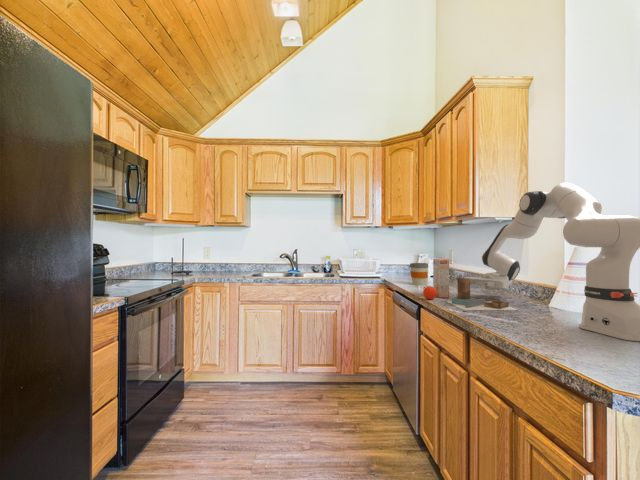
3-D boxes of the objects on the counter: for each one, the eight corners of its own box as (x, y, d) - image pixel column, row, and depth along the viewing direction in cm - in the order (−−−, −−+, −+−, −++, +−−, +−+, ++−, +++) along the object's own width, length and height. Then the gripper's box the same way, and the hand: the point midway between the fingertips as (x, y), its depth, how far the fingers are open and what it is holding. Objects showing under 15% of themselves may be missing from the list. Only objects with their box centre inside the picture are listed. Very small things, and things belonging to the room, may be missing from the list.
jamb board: (518, 311, 136) (518, 303, 136) (464, 312, 137) (464, 304, 137) (493, 303, 156) (492, 296, 156) (446, 303, 157) (446, 296, 157)
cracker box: (449, 298, 171) (449, 259, 171) (438, 298, 172) (437, 259, 172) (443, 294, 184) (443, 258, 185) (433, 293, 185) (432, 258, 186)
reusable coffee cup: (407, 284, 227) (407, 263, 227) (414, 282, 237) (414, 262, 237) (424, 286, 219) (424, 264, 219) (431, 284, 229) (430, 263, 229)
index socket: (476, 303, 150) (475, 298, 150) (466, 305, 145) (466, 300, 145) (460, 301, 156) (460, 296, 156) (451, 303, 151) (451, 298, 152)
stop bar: (470, 303, 150) (470, 278, 150) (465, 304, 148) (465, 278, 148) (462, 302, 153) (462, 277, 153) (457, 303, 151) (457, 278, 151)
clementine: (418, 298, 170) (418, 285, 170) (427, 297, 173) (427, 284, 173) (431, 301, 163) (431, 287, 163) (439, 299, 167) (439, 286, 167)
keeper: (508, 306, 142) (508, 302, 142) (500, 308, 138) (500, 304, 138) (492, 304, 148) (492, 300, 148) (484, 306, 144) (484, 301, 144)
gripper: (471, 273, 174) (457, 275, 166) (511, 276, 157) (497, 278, 149) (471, 285, 174) (457, 287, 166) (511, 289, 157) (497, 292, 149)
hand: (476, 283), depth 157 cm, fingers open, 8 cm apart
